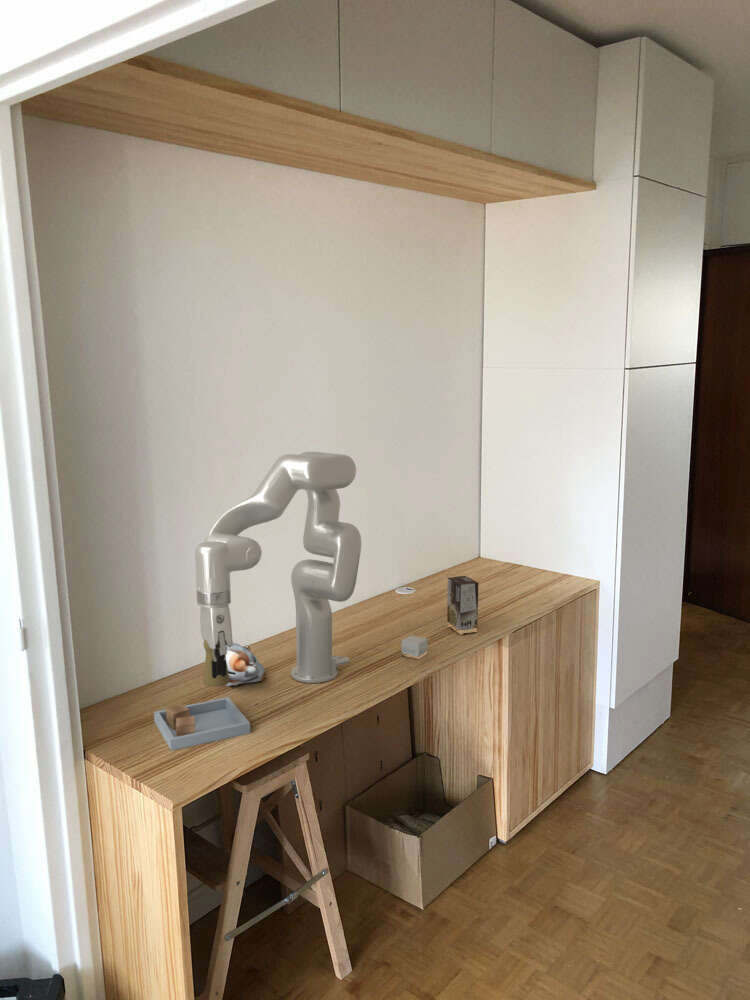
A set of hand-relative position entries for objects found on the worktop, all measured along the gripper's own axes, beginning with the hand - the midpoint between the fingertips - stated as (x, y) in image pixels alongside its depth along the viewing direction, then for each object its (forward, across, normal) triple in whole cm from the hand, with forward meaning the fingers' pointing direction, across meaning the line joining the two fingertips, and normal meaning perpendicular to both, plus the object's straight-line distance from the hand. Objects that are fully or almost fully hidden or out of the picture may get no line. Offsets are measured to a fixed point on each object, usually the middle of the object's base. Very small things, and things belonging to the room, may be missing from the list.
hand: (216, 672), depth 191 cm
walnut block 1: (+13, +4, +8) cm, 16 cm away
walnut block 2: (+13, -3, +8) cm, 16 cm away
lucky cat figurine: (+13, +23, -13) cm, 29 cm away
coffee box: (+13, +30, -87) cm, 93 cm away
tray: (+13, 0, +4) cm, 14 cm away
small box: (+13, +18, -63) cm, 67 cm away
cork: (+2, 0, 0) cm, 2 cm away
